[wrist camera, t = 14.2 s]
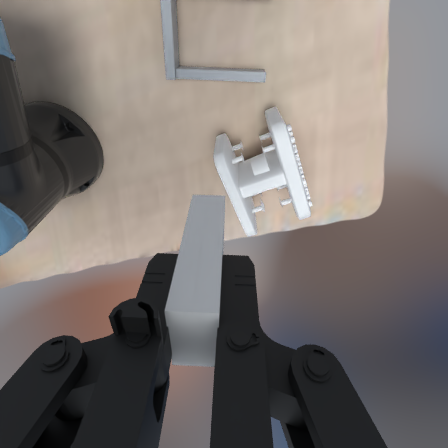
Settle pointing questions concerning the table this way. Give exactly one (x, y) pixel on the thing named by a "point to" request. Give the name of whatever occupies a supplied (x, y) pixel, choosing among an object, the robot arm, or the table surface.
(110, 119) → the table surface
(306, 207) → the cable organizer
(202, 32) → the table surface
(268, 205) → the table surface
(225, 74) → the grey ladder rack
